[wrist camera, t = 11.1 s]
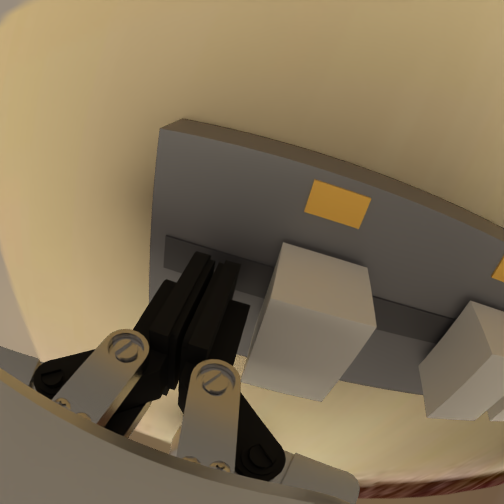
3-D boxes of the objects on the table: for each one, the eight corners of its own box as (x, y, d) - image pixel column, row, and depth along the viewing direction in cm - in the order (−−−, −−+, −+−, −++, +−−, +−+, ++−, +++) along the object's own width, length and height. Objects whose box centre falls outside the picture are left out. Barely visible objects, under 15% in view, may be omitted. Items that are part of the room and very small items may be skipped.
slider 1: (367, 267, 11) (376, 326, 9) (324, 345, 13) (321, 401, 11) (283, 242, 11) (270, 298, 9) (255, 326, 14) (240, 381, 11)
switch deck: (594, 283, 11) (608, 303, 9) (513, 383, 16) (520, 404, 15) (182, 118, 12) (158, 129, 10) (163, 300, 17) (148, 326, 16)
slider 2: (513, 315, 11) (536, 362, 8) (463, 373, 13) (474, 420, 11) (470, 300, 11) (492, 354, 8) (418, 366, 13) (426, 417, 11)
